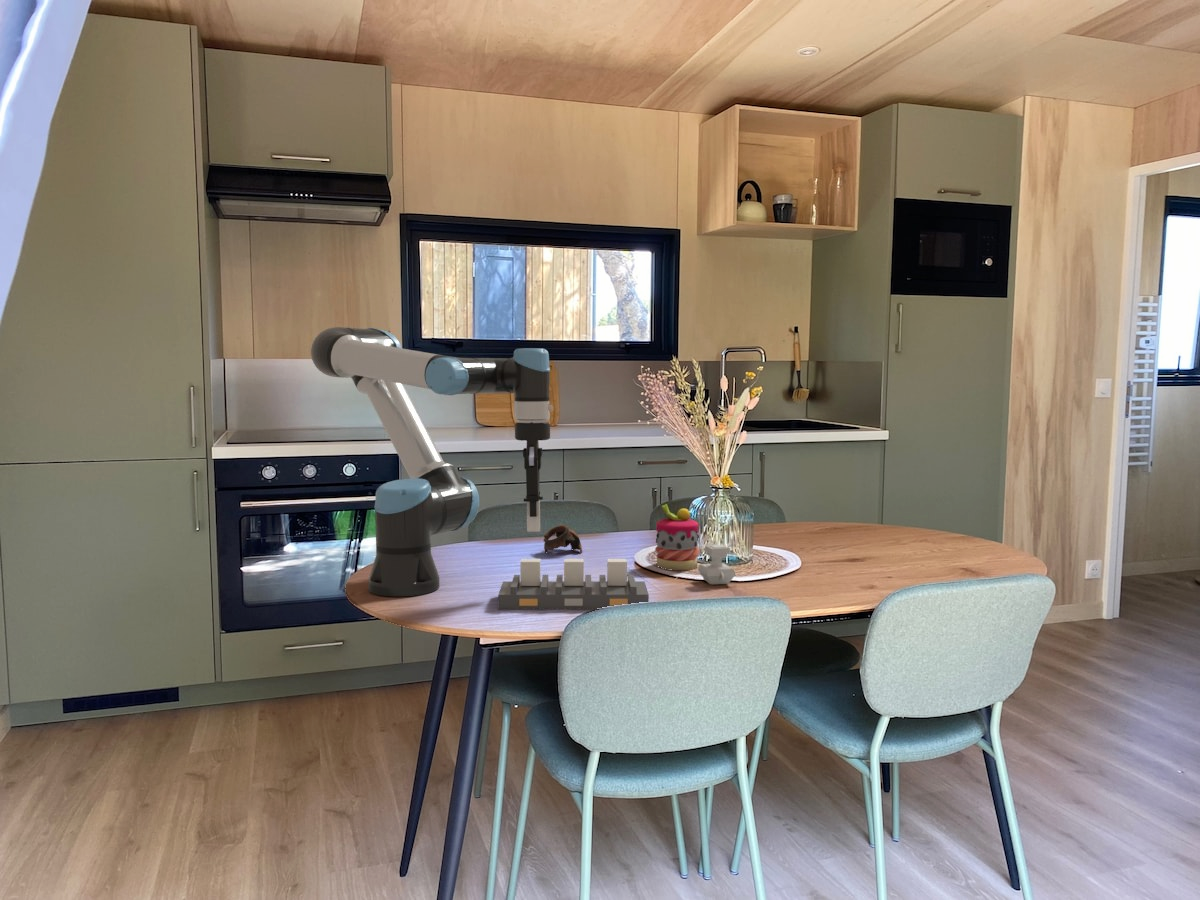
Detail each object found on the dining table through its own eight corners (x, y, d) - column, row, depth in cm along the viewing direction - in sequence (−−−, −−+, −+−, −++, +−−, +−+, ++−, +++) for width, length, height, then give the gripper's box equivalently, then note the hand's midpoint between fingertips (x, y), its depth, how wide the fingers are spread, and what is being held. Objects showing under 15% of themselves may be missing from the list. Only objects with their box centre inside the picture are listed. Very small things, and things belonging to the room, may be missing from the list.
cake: (695, 561, 223) (696, 502, 221) (701, 571, 212) (702, 508, 211) (653, 561, 223) (654, 502, 221) (657, 571, 212) (658, 508, 211)
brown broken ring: (587, 557, 229) (573, 532, 226) (554, 573, 230) (539, 548, 226) (582, 537, 240) (569, 512, 237) (550, 552, 241) (537, 528, 238)
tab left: (520, 585, 184) (520, 561, 183) (521, 582, 187) (521, 558, 186) (539, 585, 184) (539, 561, 184) (540, 582, 187) (540, 558, 187)
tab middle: (564, 585, 184) (564, 561, 184) (564, 582, 187) (564, 558, 187) (583, 585, 184) (583, 561, 184) (583, 582, 187) (583, 558, 187)
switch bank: (498, 609, 177) (498, 587, 177) (503, 595, 189) (502, 574, 188) (648, 609, 178) (648, 587, 178) (644, 595, 189) (644, 574, 189)
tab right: (607, 585, 184) (607, 561, 184) (607, 582, 187) (607, 558, 187) (626, 585, 184) (627, 561, 184) (626, 582, 187) (626, 558, 187)
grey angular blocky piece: (695, 579, 204) (696, 542, 204) (723, 577, 206) (723, 541, 205) (708, 588, 196) (709, 550, 195) (737, 587, 197) (738, 549, 196)
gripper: (549, 422, 183) (550, 536, 185) (551, 419, 196) (552, 525, 198) (512, 423, 183) (513, 536, 185) (516, 419, 196) (518, 525, 198)
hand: (533, 530), depth 191 cm, fingers closed
